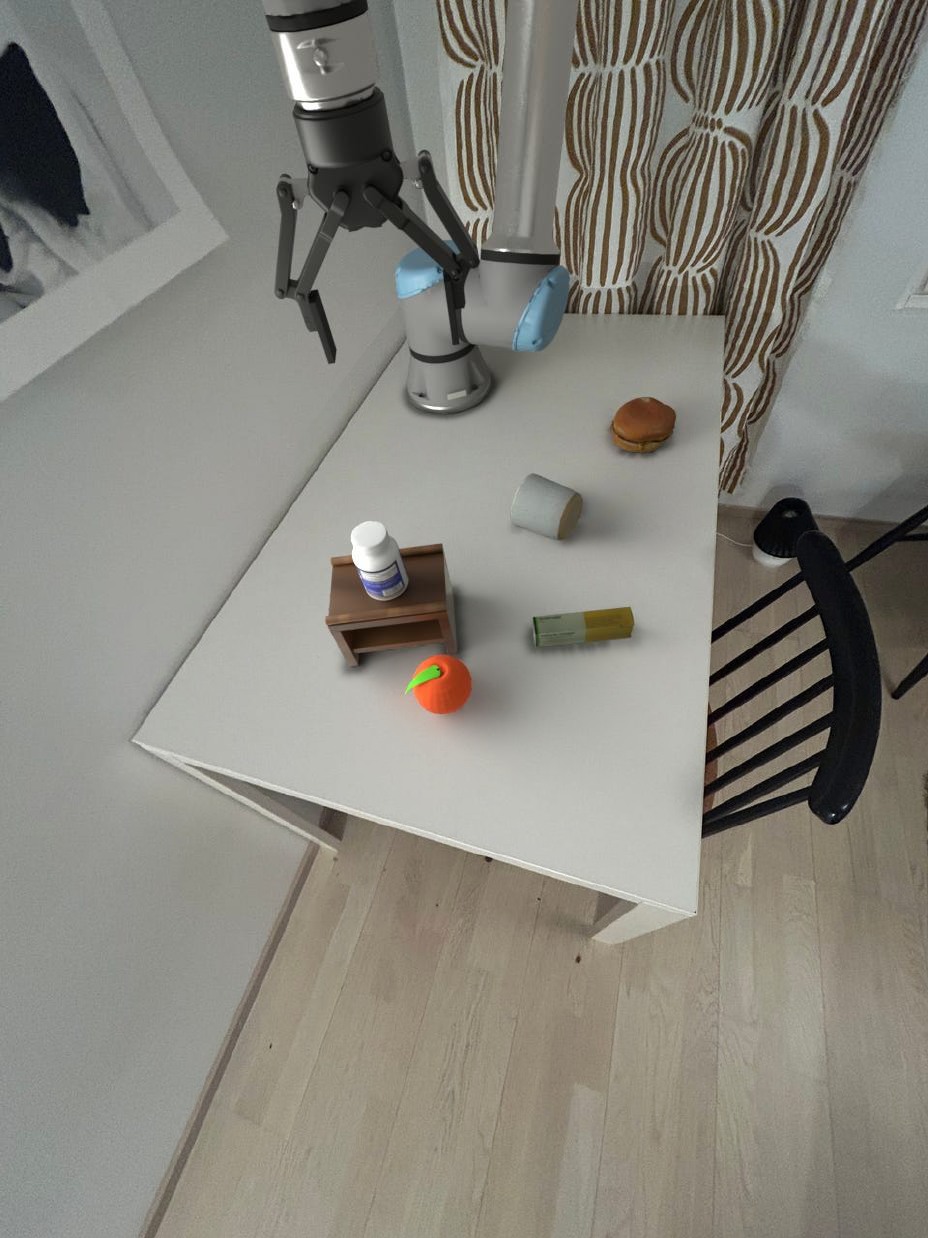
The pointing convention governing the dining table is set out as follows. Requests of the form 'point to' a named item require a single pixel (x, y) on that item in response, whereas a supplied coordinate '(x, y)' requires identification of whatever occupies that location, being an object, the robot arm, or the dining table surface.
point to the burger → (643, 425)
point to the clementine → (441, 684)
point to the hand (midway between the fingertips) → (393, 347)
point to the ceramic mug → (546, 507)
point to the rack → (393, 607)
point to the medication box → (583, 627)
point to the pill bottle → (378, 561)
